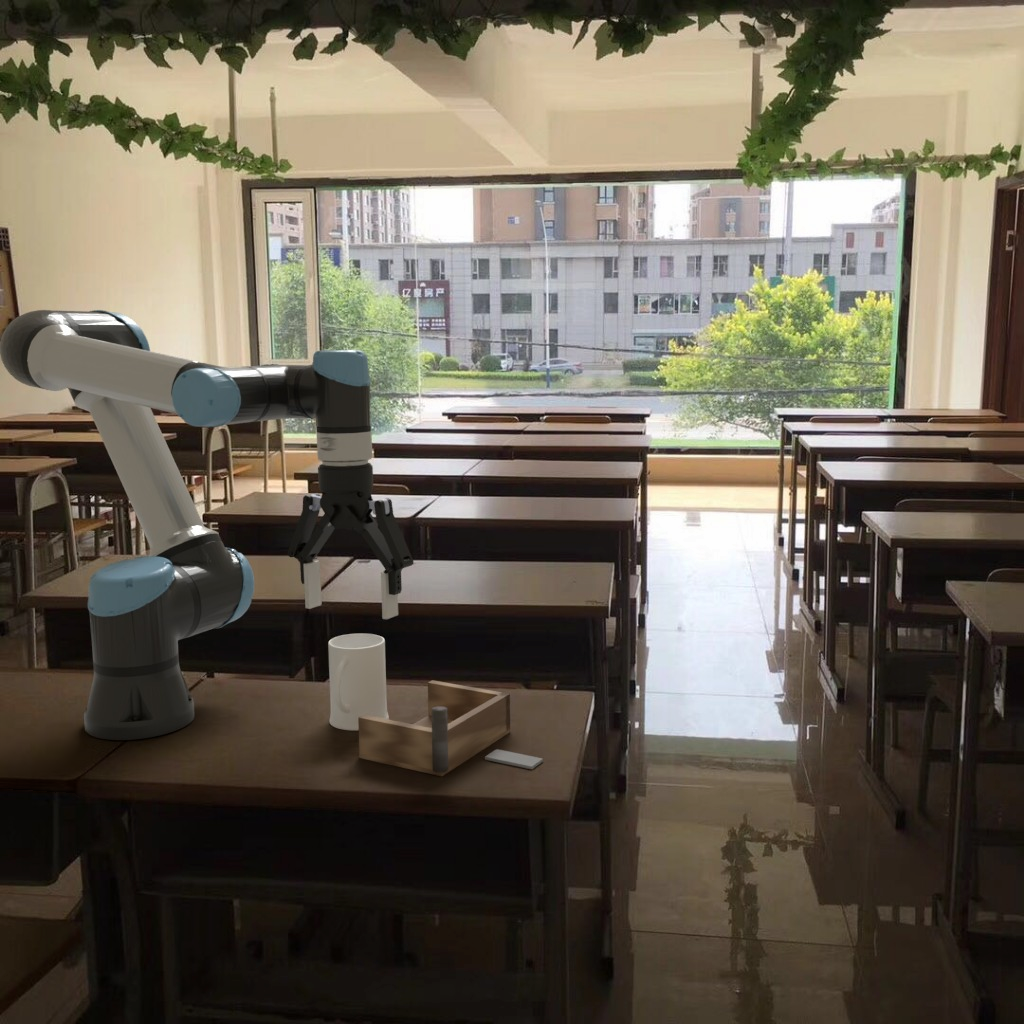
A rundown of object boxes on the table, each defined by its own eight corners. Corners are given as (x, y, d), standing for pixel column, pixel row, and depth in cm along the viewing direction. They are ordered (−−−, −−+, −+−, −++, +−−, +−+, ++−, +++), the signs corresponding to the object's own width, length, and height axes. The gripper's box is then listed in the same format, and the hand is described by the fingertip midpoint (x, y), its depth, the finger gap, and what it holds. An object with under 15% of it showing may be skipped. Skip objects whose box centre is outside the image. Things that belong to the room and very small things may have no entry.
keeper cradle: (357, 758, 142) (355, 696, 141) (433, 717, 158) (431, 660, 156) (442, 778, 136) (441, 712, 134) (512, 732, 151) (512, 673, 150)
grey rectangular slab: (485, 759, 141) (485, 756, 141) (496, 751, 144) (496, 749, 144) (531, 769, 138) (531, 766, 138) (542, 761, 141) (542, 758, 141)
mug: (360, 742, 148) (358, 658, 146) (306, 734, 151) (303, 652, 149) (398, 714, 159) (396, 635, 157) (347, 707, 162) (344, 630, 160)
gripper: (258, 461, 152) (266, 608, 155) (403, 469, 140) (408, 627, 143) (293, 456, 158) (300, 597, 161) (435, 463, 146) (439, 615, 149)
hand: (351, 611), depth 152 cm, fingers open, 13 cm apart
